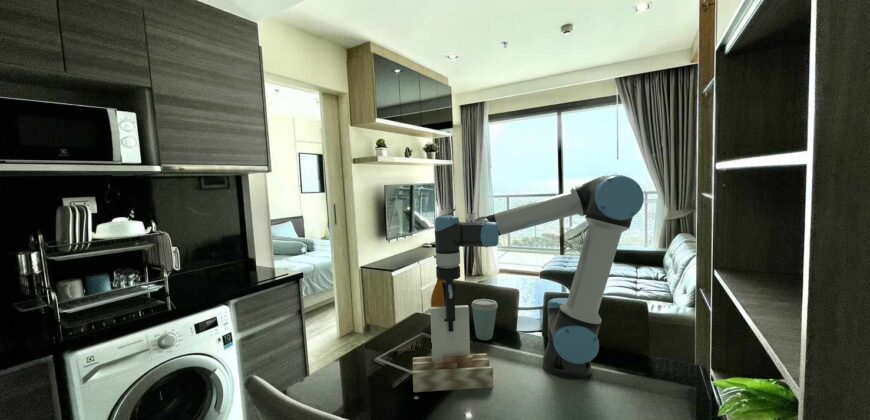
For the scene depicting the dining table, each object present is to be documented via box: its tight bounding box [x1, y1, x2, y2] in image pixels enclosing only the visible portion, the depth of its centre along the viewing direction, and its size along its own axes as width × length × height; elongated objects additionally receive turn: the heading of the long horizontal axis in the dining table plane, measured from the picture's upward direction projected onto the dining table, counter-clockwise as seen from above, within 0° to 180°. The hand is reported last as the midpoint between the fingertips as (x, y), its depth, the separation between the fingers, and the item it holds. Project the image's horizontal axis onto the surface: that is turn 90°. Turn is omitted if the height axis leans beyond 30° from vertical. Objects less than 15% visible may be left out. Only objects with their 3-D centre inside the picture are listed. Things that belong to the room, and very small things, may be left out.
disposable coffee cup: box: [471, 298, 499, 341], centre depth 145 cm, size 11×11×15 cm
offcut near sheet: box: [443, 355, 473, 368], centre depth 111 cm, size 9×2×8 cm, turn 93°
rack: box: [412, 353, 494, 393], centre depth 111 cm, size 24×9×7 cm, turn 93°
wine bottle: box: [430, 264, 444, 307], centre depth 158 cm, size 10×10×30 cm
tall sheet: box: [429, 304, 471, 361], centre depth 113 cm, size 12×2×22 cm, turn 93°
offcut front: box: [434, 362, 458, 370], centre depth 109 cm, size 7×2×7 cm, turn 93°
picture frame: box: [373, 332, 431, 375], centre depth 134 cm, size 19×2×30 cm
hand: (450, 338), depth 113 cm, fingers closed on tall sheet, 2 cm apart
